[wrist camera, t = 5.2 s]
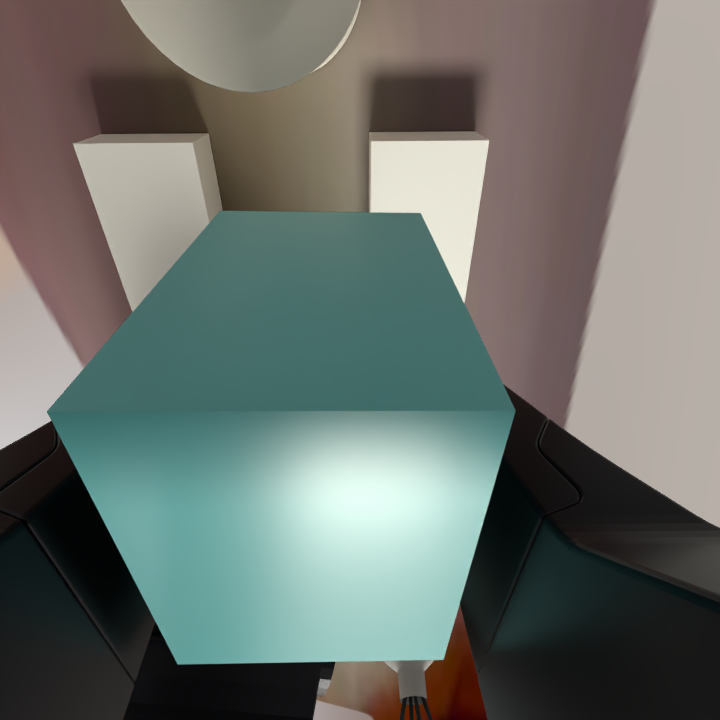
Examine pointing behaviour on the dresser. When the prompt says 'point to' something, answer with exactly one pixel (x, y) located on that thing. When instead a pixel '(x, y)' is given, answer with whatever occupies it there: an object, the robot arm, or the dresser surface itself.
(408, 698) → the reed diffuser
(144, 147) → the notched board
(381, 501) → the teal rectangular block
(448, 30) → the dresser surface
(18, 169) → the dresser surface
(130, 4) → the bobbin
